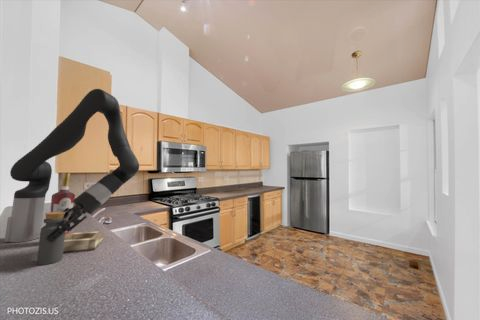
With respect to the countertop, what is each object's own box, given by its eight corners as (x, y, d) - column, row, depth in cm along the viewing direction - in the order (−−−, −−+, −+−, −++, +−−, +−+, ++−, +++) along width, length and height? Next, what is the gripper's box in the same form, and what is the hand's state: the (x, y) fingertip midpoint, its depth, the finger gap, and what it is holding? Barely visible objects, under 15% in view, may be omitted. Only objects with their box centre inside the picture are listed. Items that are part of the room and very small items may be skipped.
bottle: (66, 259, 63) (71, 212, 65) (43, 266, 58) (50, 214, 59) (55, 256, 65) (60, 210, 67) (31, 263, 60) (38, 213, 61)
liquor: (48, 246, 74) (57, 172, 77) (43, 242, 78) (52, 172, 81) (72, 241, 80) (80, 173, 83) (66, 238, 84) (74, 173, 87)
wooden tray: (52, 253, 67) (54, 242, 67) (67, 243, 78) (68, 233, 78) (94, 249, 72) (95, 239, 72) (102, 240, 83) (103, 231, 83)
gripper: (78, 189, 74) (28, 228, 63) (94, 191, 66) (40, 236, 55) (93, 202, 78) (48, 240, 66) (110, 206, 70) (62, 250, 59)
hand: (45, 238), depth 61 cm, fingers closed on bottle, 6 cm apart
